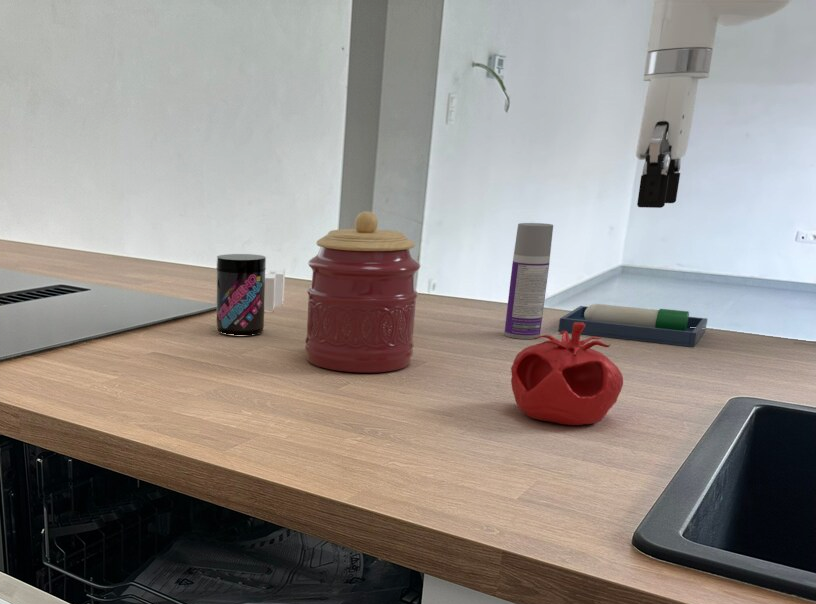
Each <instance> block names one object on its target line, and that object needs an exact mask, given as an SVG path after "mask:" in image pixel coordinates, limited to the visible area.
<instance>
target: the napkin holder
mask: <svg viewBox="0 0 816 604" xmlns="http://www.w3.org/2000/svg"><path fill="white" fill-rule="evenodd" d="M285 271H286V268H279V267H278V268H273V267H271V268H270V269H269V271H268V273H265V302H264V310H268V311H273V310H274V311H275V309H274V307H275V306H282V304H283V305H284V302H285V277H286V272H285ZM283 301H284V302H283ZM282 307H283V306H282ZM275 308H276V307H275Z"/></svg>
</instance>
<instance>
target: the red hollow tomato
mask: <svg viewBox="0 0 816 604" xmlns="http://www.w3.org/2000/svg"><path fill="white" fill-rule="evenodd" d="M584 328H585V324H584V323H583V322H582V323H580V322H574V324H573V332H572V333H571V337H570V336H569V333H568V332H567V331H562V332H560V333H557V335H558V336H561V340H559V339H557V338H555V337H554V336H552V335H549V334H542V335H540V336H539V337H536V338H534V339H533V340H537V339H541V338H546V339H548V340H544V341H543V342H540V343H537V344H533V345H528V346H526V347H525V348H523V349H521V350H520V351H519V352H518V353H517V354H516V356H515V357H514V360H513V363H512V365H511V367H510V371H511V379H510V384H511V390H512V394H513V396H514V401H515V402H516V405H517V407H518V408H519V410H520V411H521V412H522V413H523V414H525V415H526V416H527V417H529V418H531V419H535V420H538V421H544V422H550V423H555V424H560V425H566V426H567V425H568V426H582V425H594V424H597V423H599V422H601V421H602V420H603V419H604V418H605V416H606V415H607V414H608V412H609V411H610V410H611V409H612V408H613V406H614V405H615V404H616V403H617V401H618V398H619V395H620V394H621V392H622V388H623V386H624V376H623V374H622V372H621V370H620V369H619V367H618V366H617V365H616V364H615V363H614V362H613V361H612V360H610V358H608V356H606V355H604V353H602V352H600V351H598V350H595V349H594V348H593V347H595V346H598V347H599V346H600V347H603V348H610V347H611V344H606V343H604V342H603V341H600V339H601V338H602V337H601V336H599V337H598V336H590V337H589V338H586V339H582V340H581V335H582V334H581V333H582V331H583V329H584ZM592 340H593V341H592ZM592 348H593V349H592Z"/></svg>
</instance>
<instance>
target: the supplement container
mask: <svg viewBox="0 0 816 604" xmlns="http://www.w3.org/2000/svg"><path fill="white" fill-rule="evenodd" d="M266 264H267V257H266V256H265V255H262V254H261V255H260V254H252V253H228V254H227V253H226V254H220V255H217V256H216V268H215V269H216V330H217V332H218V333H219V332H222V333H226V334H234V335H252V334H258V333H260V334H262V332H263V331H264V329H265V312H264V302H265V274H266V269H267V266H266ZM258 335H259V334H258Z"/></svg>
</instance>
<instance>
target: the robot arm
mask: <svg viewBox="0 0 816 604" xmlns="http://www.w3.org/2000/svg"><path fill="white" fill-rule="evenodd" d="M792 1H793V0H653V7H652V15H651V23H650V29H649V37H648V43H647V51H646V58H645V65H644V73H643V79H642V80H643V81H644V82H649V85H648V88H647V91H646V96H645V101H644V106H643V110H642V111H643V112H642V118H641V123H640V128H639V135H638V140H637V141H638V142H637V145H636V151H635V157H636V158H637V159H638V160H641V161H642V160H644V164H643V167H642V174H641V175H640V182H639V188H638V196H637V203H636V205H637V207H638V208H648V209H649V208H650V209H651V208H652V209H662V208H664V207H665V204H674V203H676V202H677V198H678V191H679V185H680V178H681V172H680V171H681V163H682V161H681V159H682V158H683V157H684V156H685V155H686V153H687V149H688V144H689V139H690V135H691V129H692V125H693V117H694V111H695V105H696V100H697V99H696V98H697V92H698V91H697V90H698V83H699V80H705V79H708V78H709V77H710V70H711V66H712V65H711V64H712V58H713V52H714V51H713V50H714V45H715V39H716V32H717V26H718V25H721V26H725V27H732V28H733V27H740V26H743V25H746V24H749V23H752V22H754V21H758V20H761V19H764V18H766V17H769V16H771V15H774V14H776V13H778V12H779V11H781V10H783V9H784V8H785V7H787V5H789V4H790V3H791V2H792Z"/></svg>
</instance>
